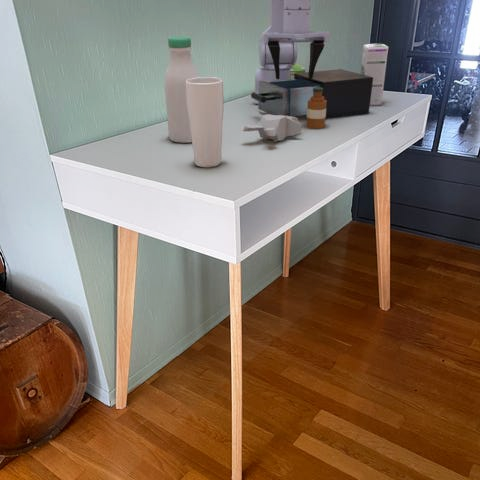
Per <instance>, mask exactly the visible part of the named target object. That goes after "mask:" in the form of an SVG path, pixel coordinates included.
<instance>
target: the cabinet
mask: <svg viewBox="0 0 480 480" xmlns="http://www.w3.org/2000/svg"><path fill="white" fill-rule="evenodd" d="M308 75H309V71H305V72H304V73H294V79H299V78H300V79H303V80H307V81H310V82H313V83H316V84H319V85H322V88H323V92H322V96H323V97H324V100H326V101H327V104H326V117H325V120H326V119H327V120H328V119H336V118H342V117H350V116H351V117H352V116H359V115H366V114H367V115H368V114H369V113H370V99H371V92H372V84H373V77H370V76H366V75H362V74H361V73H359V72H358V73H357V72H354V71H350V70H346V69H342V68H338V69H327V70H316V71H315V70H314V74H313V78H311V79H310V78H309V77H308Z"/></svg>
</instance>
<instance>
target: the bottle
mask: <svg viewBox="0 0 480 480" xmlns="http://www.w3.org/2000/svg"><path fill="white" fill-rule="evenodd" d="M322 92H323V88H321V87H315V88H313V96H311V99H310V100H308V105H307V115H306V122H305V123H306V125H305V127H306V128H307V129H314V130H319V129H325V126H326V119H325V117H326V104H327V101H326V100H324V97H323V96H322Z"/></svg>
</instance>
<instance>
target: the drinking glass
mask: <svg viewBox="0 0 480 480" xmlns="http://www.w3.org/2000/svg"><path fill="white" fill-rule="evenodd" d="M224 100H225V99H224V83H223V79H221V78H220V77H213V76H199V77H198V78H191V79H188V80H186V101H187V110H188V117H189V124H190V130H191V137H192V142H191V143H192V151H193V152H192V153H193V162H194V164H195V165H196V166H197V167H200V168H214V167H218V166H219V165H221V163H222V159H223V157H222V150H223V149H222V146H223V128H224V127H223V125H224V105H225V103H224V102H225V101H224Z"/></svg>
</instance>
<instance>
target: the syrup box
mask: <svg viewBox="0 0 480 480" xmlns="http://www.w3.org/2000/svg"><path fill="white" fill-rule="evenodd" d="M388 52H389V46H388V45H386V44H384V43H367V44H363V48H362V58H361V69H360V74H362V75H366V76H370V77H373V84H372V92H371V99H370V106H382V102H383V94H384V87H385V78H386V72H387V61H388V54H389V53H388Z"/></svg>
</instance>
